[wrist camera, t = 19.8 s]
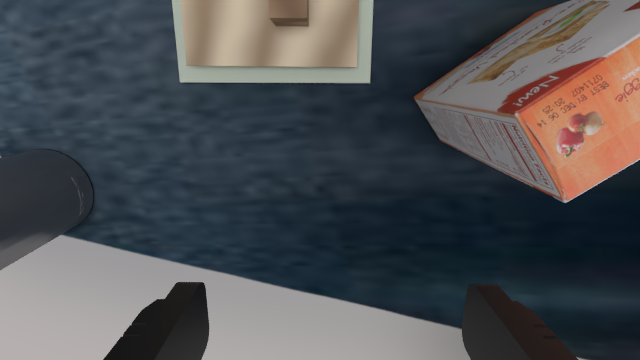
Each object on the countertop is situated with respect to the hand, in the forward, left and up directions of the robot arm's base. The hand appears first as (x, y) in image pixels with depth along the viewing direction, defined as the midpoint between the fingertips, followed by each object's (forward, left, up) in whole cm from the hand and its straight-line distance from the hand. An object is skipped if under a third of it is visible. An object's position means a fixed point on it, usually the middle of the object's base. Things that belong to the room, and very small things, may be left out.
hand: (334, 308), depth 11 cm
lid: (-5, +14, -28) cm, 31 cm away
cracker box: (+16, +7, -28) cm, 33 cm away
